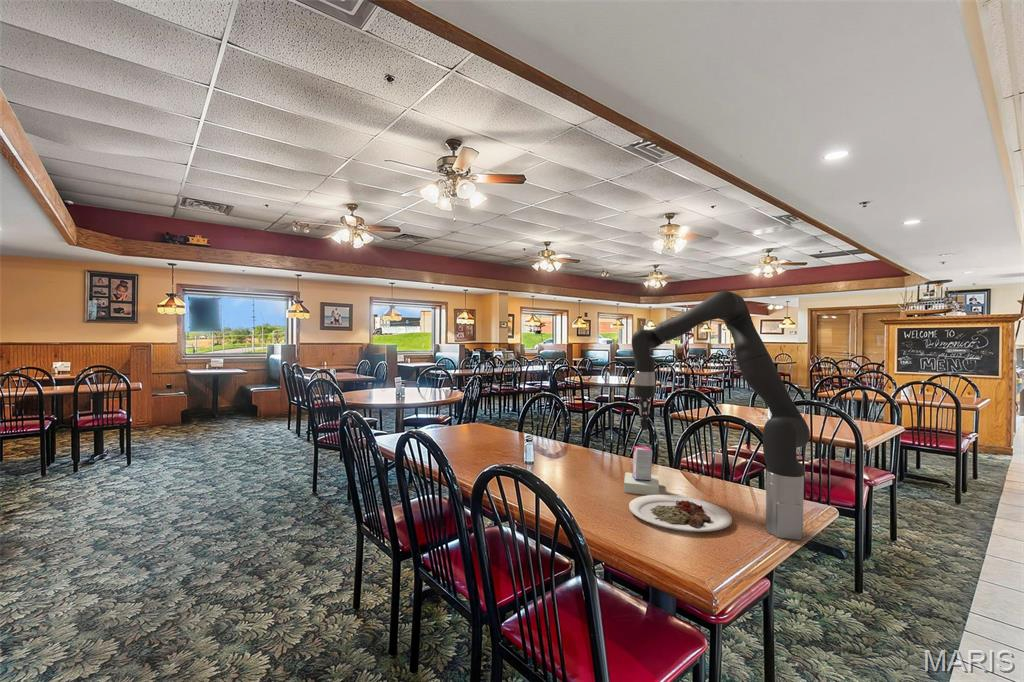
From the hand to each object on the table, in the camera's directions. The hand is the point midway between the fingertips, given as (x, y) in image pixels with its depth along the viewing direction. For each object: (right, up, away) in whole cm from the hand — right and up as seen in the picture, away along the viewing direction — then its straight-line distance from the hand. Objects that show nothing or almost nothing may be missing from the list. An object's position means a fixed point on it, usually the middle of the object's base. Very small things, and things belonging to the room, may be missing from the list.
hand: (643, 427), depth 169 cm
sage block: (-1, -23, 0) cm, 23 cm away
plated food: (+3, -23, -27) cm, 35 cm away
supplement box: (-1, -19, 0) cm, 19 cm away
